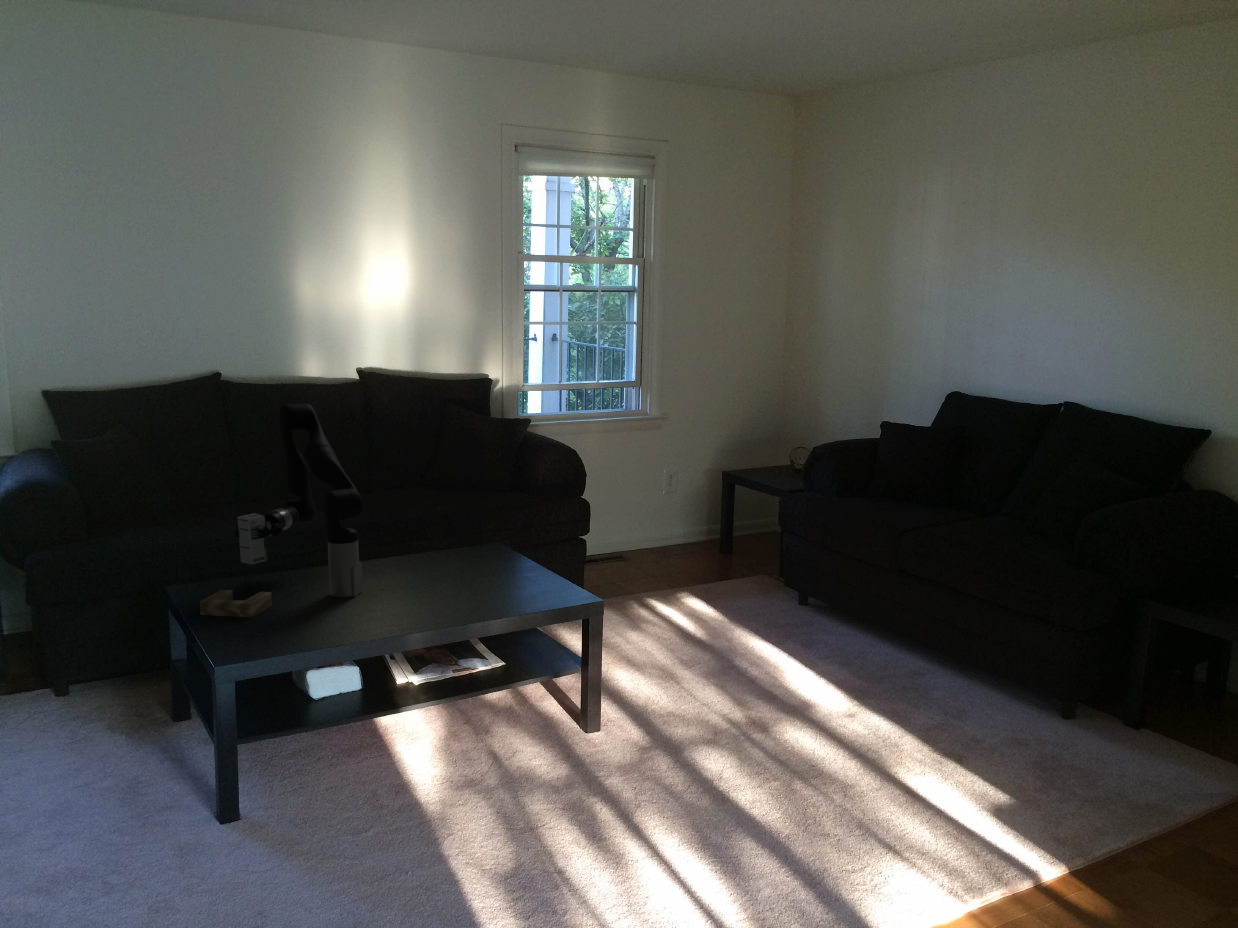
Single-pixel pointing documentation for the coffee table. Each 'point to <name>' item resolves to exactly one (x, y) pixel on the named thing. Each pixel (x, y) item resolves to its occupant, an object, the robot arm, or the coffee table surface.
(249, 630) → the coffee table surface
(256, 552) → the syrup box
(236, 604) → the cradle
